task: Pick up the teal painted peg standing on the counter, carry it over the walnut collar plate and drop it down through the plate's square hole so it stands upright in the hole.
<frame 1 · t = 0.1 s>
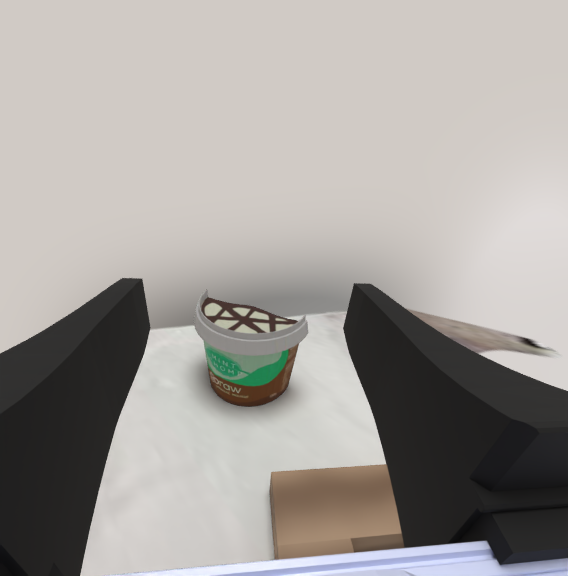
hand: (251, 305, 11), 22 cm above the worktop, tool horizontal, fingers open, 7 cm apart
food container: (239, 392, 37), on the worktop
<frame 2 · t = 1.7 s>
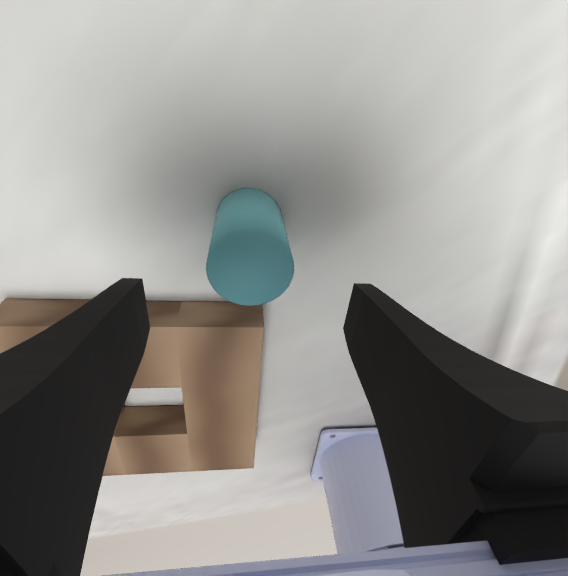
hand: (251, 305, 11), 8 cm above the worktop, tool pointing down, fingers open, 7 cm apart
teal peg: (249, 220, 18), on the worktop
walnut collar plate: (154, 383, 24), on the worktop
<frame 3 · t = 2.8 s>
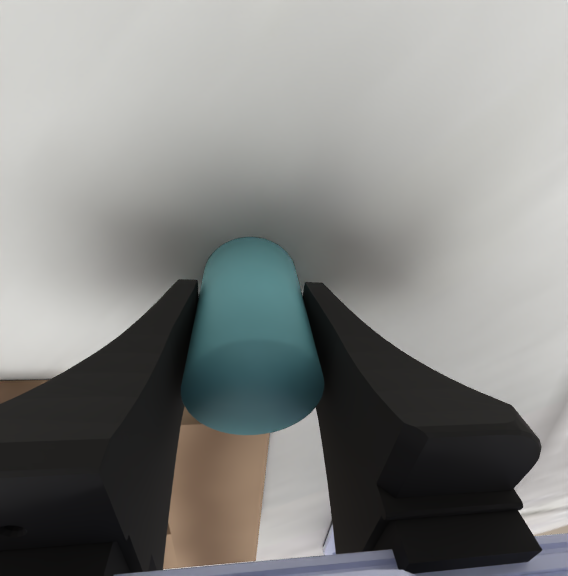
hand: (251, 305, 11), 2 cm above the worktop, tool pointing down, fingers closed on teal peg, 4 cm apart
teal peg: (250, 279, 13), on the worktop, touching gripper
walnut collar plate: (130, 468, 19), on the worktop
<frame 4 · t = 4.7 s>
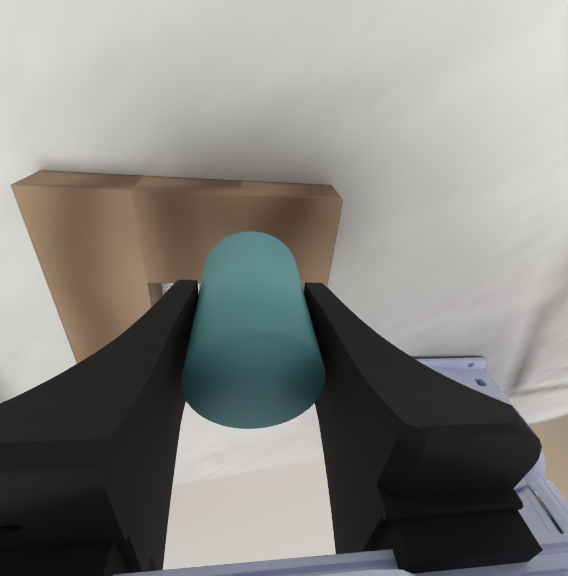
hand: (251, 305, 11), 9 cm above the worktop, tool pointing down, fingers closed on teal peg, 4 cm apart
teal peg: (251, 274, 13), point 7 cm above the worktop, touching gripper
walnut collar plate: (202, 295, 21), on the worktop
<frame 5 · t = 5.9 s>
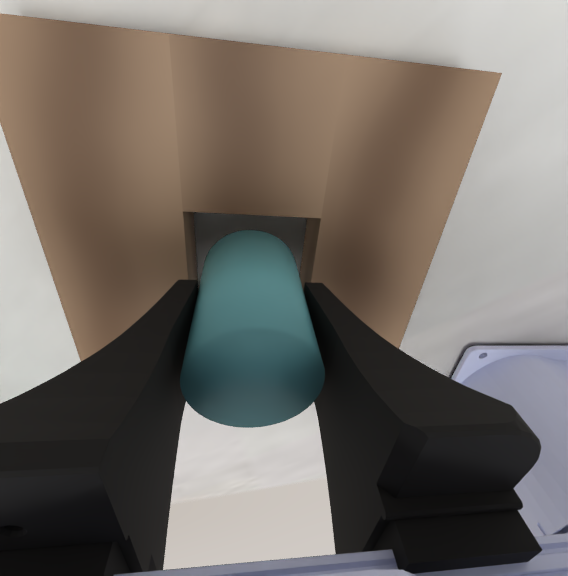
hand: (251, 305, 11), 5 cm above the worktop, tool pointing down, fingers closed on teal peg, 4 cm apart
teal peg: (250, 272, 13), point 3 cm above the worktop, touching gripper
walnut collar plate: (250, 247, 15), on the worktop
when the fingers open (3 cm above the worktop, at t = 6.6 s): teal peg drops 1 cm, resting in walnut collar plate.
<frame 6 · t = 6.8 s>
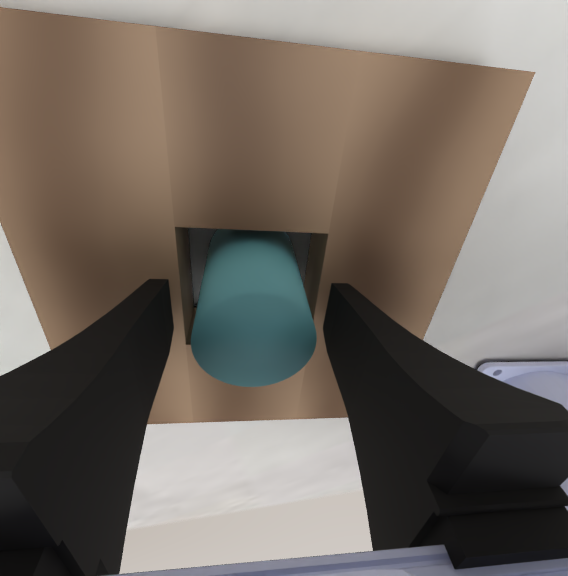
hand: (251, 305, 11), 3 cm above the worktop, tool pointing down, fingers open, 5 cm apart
teal peg: (251, 256, 14), resting in walnut collar plate
walnut collar plate: (250, 261, 14), on the worktop
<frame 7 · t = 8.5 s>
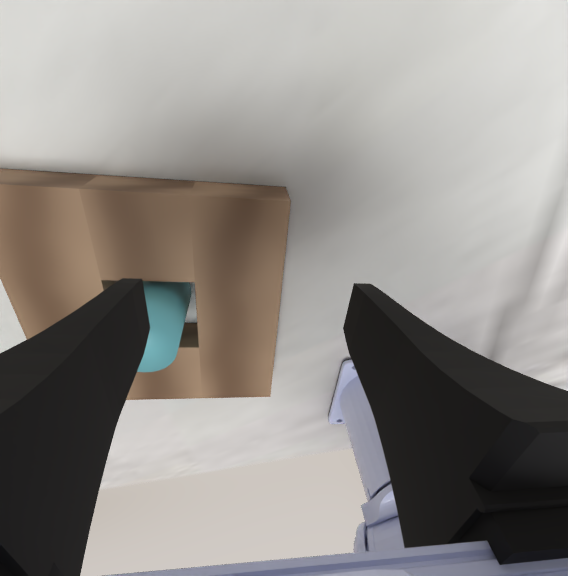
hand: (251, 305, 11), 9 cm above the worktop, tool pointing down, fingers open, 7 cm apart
teal peg: (163, 290, 22), resting in walnut collar plate
walnut collar plate: (162, 293, 22), on the worktop
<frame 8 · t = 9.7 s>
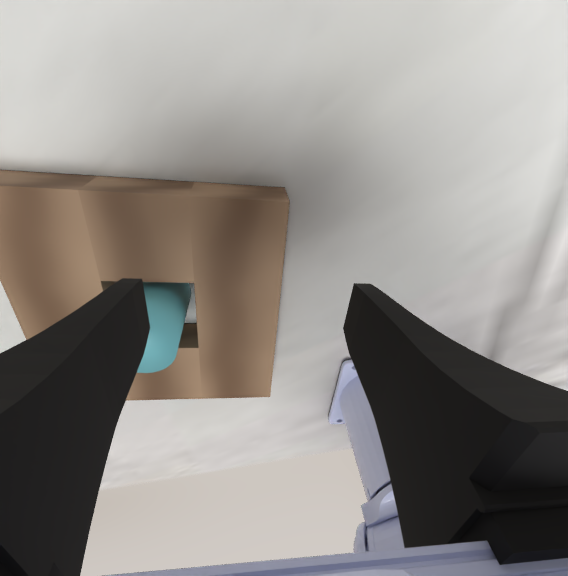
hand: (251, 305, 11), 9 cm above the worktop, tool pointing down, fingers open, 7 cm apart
teal peg: (162, 290, 22), resting in walnut collar plate
walnut collar plate: (162, 294, 22), on the worktop
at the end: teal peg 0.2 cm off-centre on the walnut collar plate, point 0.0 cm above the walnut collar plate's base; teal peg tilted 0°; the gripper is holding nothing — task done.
